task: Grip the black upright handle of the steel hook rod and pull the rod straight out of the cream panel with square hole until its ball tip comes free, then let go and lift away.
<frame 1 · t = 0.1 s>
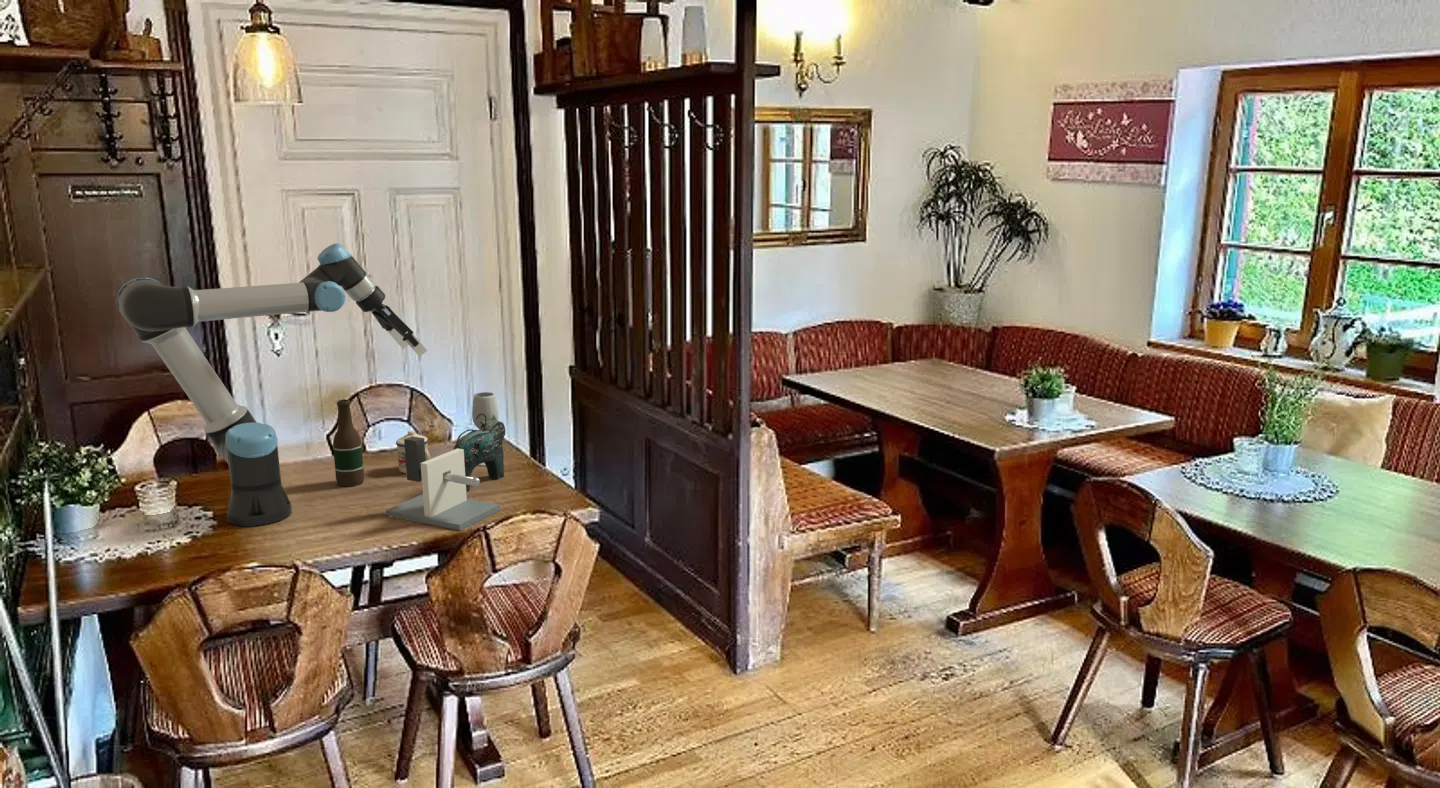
hand: (414, 349, 289), 36 cm above the table, tool tilted 35°, fingers open, 13 cm apart
beer bottle: (350, 483, 285), on the table
panel with square hole: (446, 513, 261), on the table
hook rod: (443, 463, 258), point 13 cm above the table, slide at 0.0 cm
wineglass: (488, 463, 304), on the table
green animal figurine: (481, 484, 284), on the table
teacup with lid: (417, 470, 297), on the table
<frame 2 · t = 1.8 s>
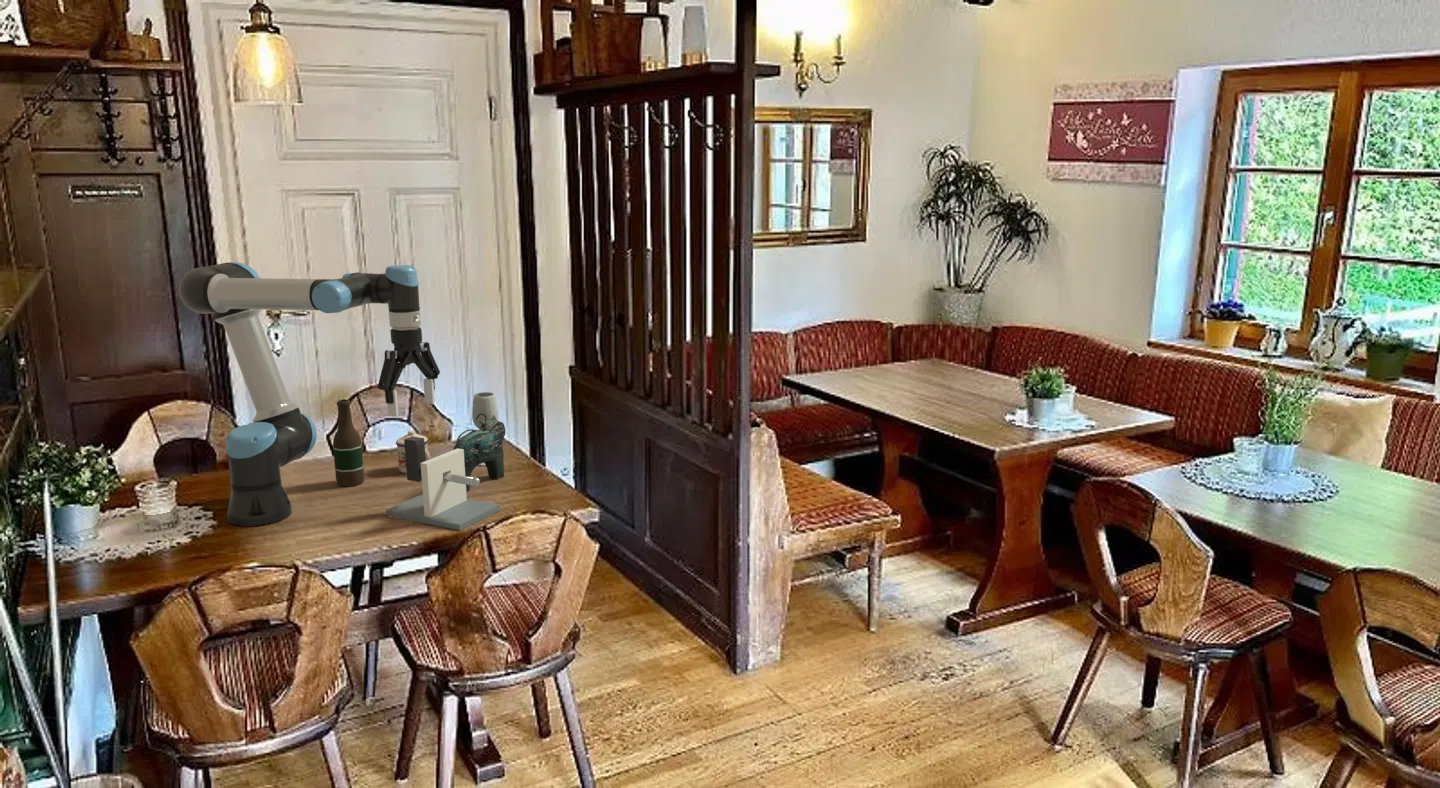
hand: (412, 409, 259), 27 cm above the table, tool pointing down, fingers open, 13 cm apart
nothing on the table moved.
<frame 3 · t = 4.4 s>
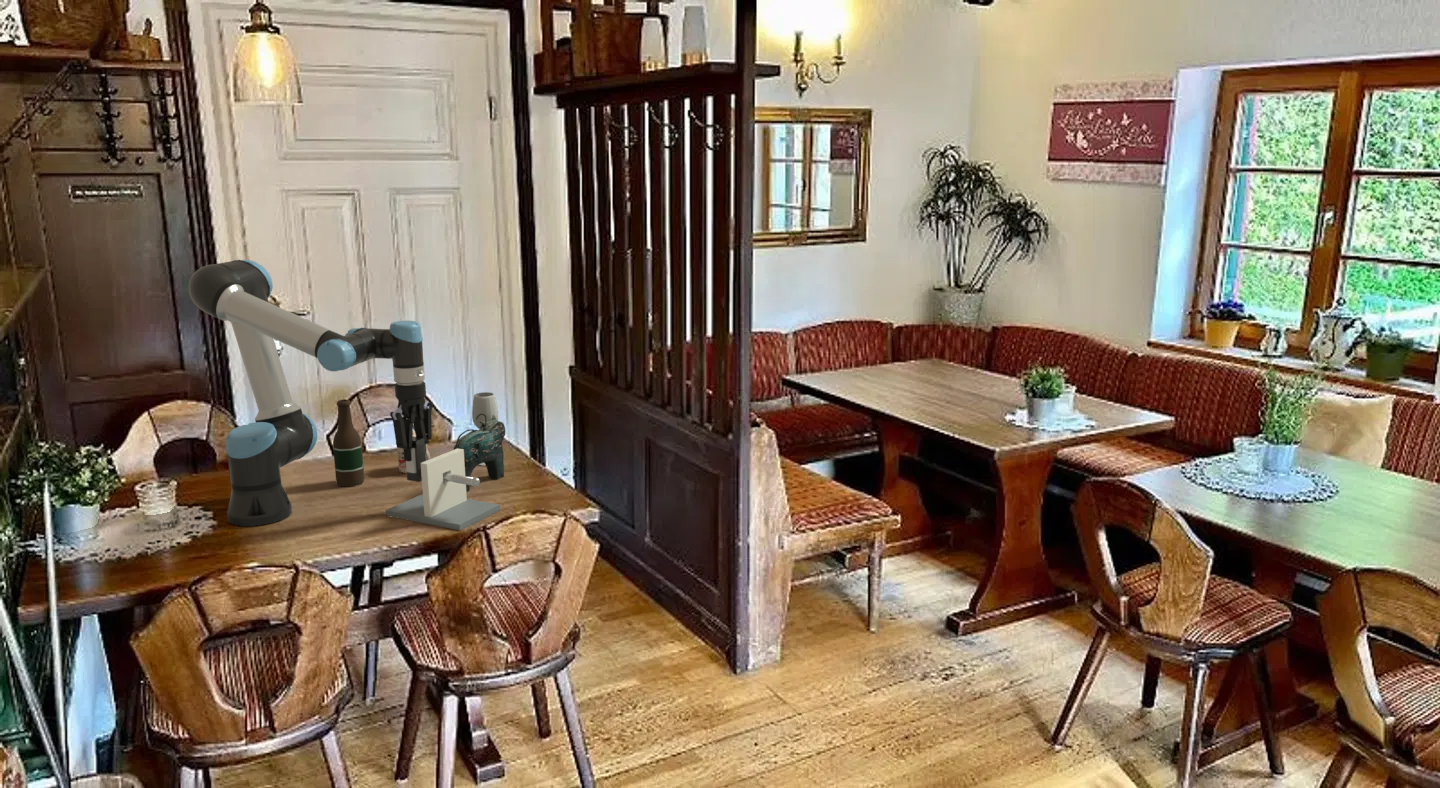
hand: (416, 470, 262), 11 cm above the table, tool pointing down, fingers closed on hook rod, 3 cm apart
hook rod: (443, 463, 258), point 13 cm above the table, slide at 0.0 cm, touching gripper
everything else where it was.
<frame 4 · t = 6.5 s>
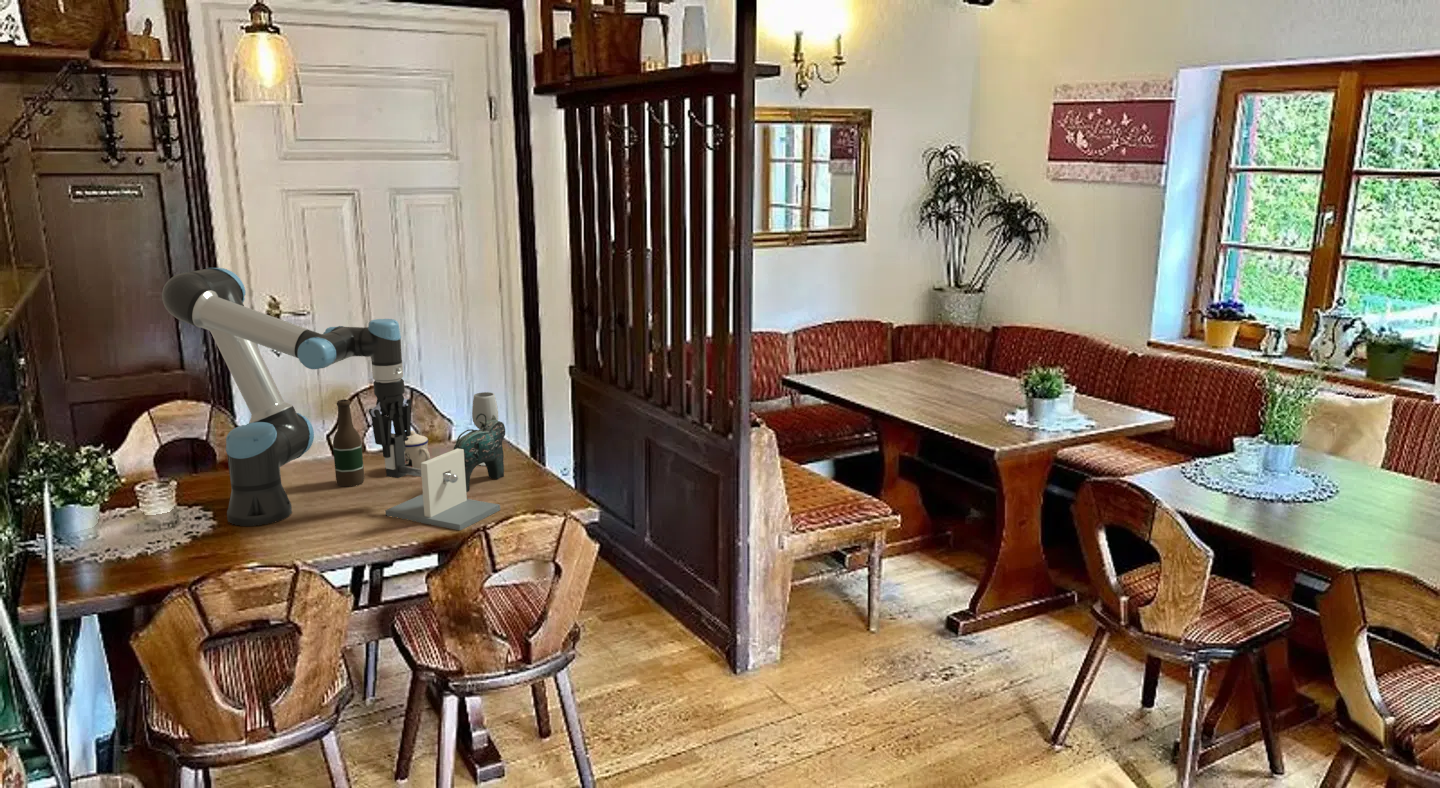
hand: (395, 466, 265), 11 cm above the table, tool pointing down, fingers closed on hook rod, 3 cm apart
hook rod: (421, 460, 261), point 13 cm above the table, slide at 7.1 cm, touching gripper
everything else where it was.
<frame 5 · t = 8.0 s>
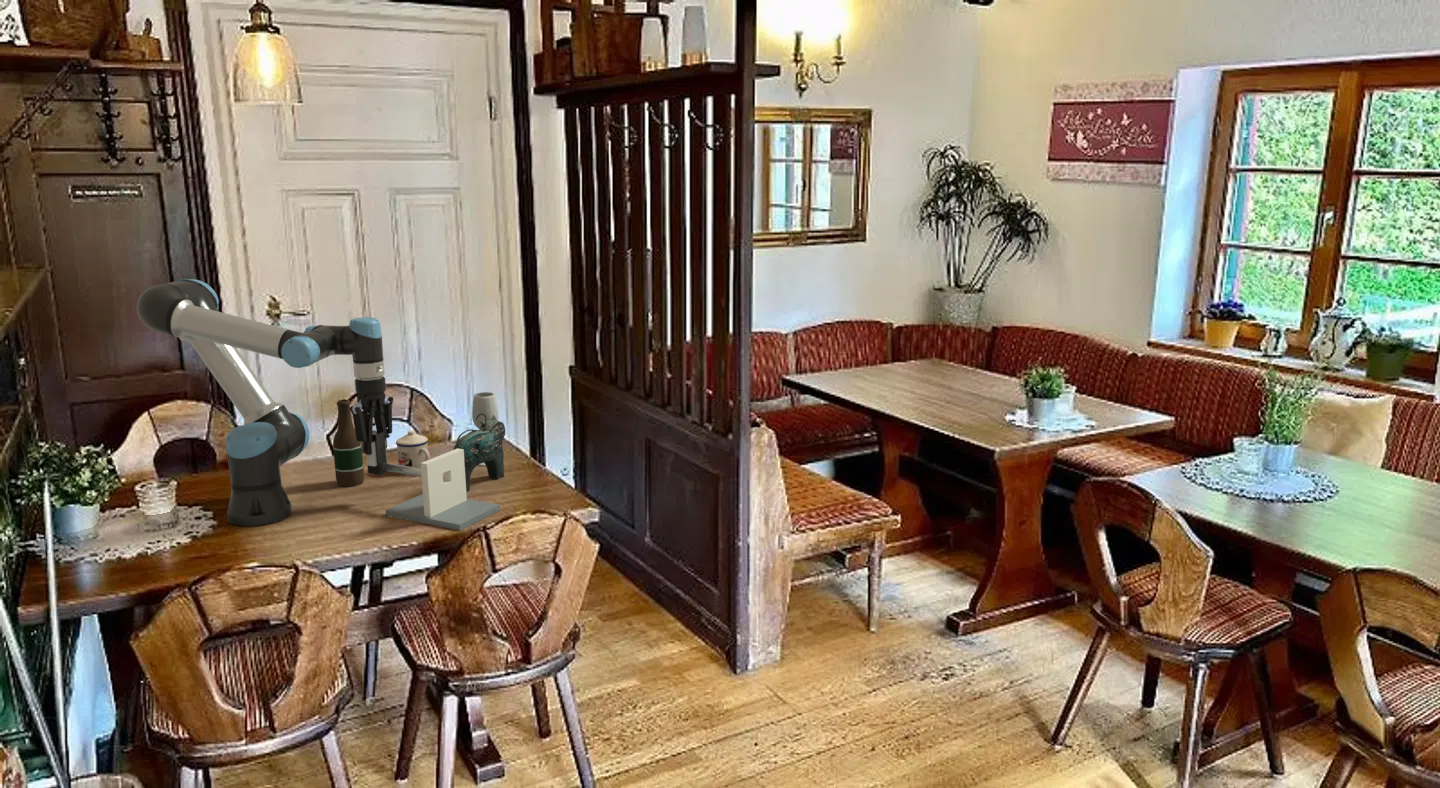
hand: (377, 463, 268), 11 cm above the table, tool pointing down, fingers closed on hook rod, 3 cm apart
hook rod: (402, 457, 264), point 13 cm above the table, slide at 13.4 cm, touching gripper
everything else where it was.
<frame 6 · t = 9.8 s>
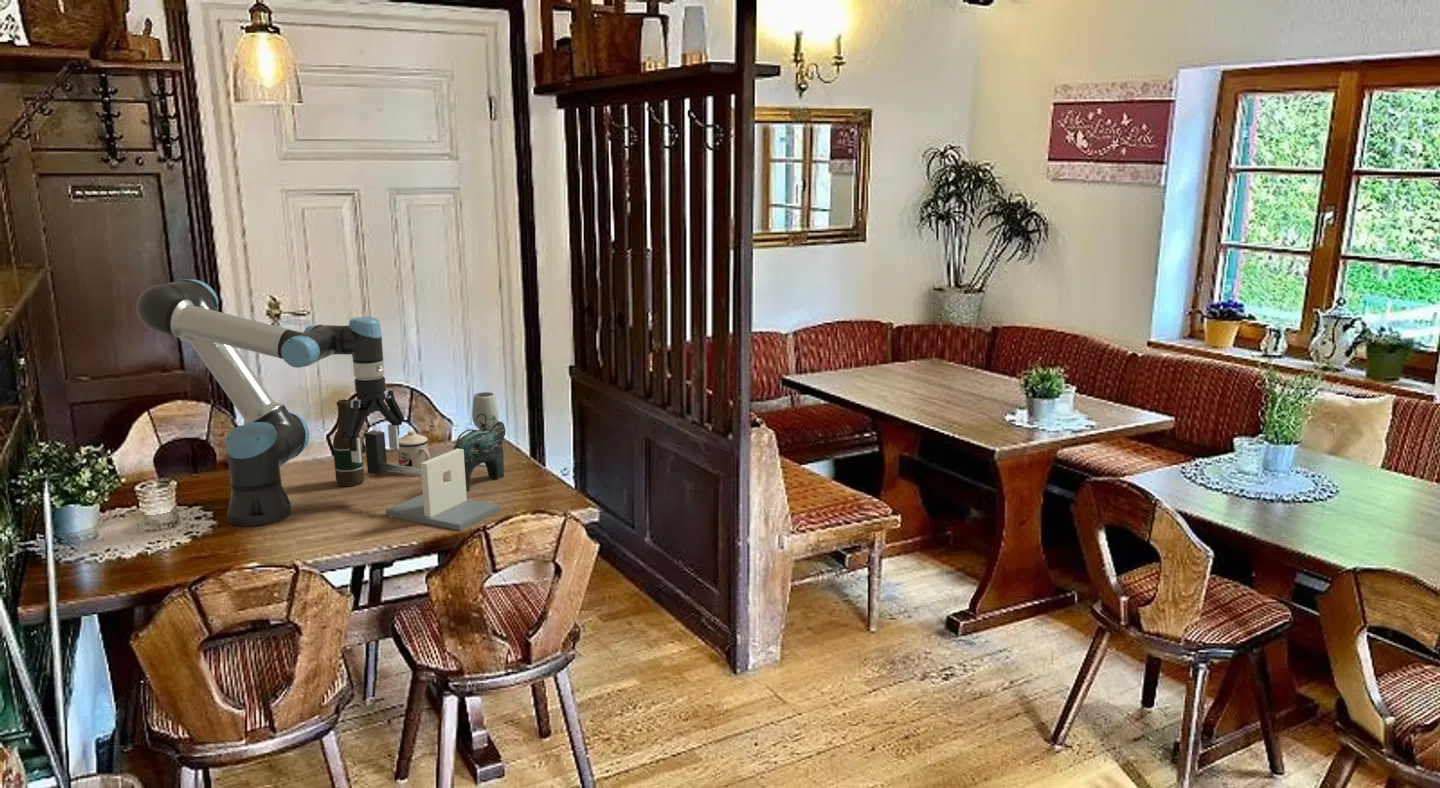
hand: (376, 455, 268), 13 cm above the table, tool pointing down, fingers open, 13 cm apart
hook rod: (402, 457, 264), point 13 cm above the table, slide at 13.5 cm
everything else where it was.
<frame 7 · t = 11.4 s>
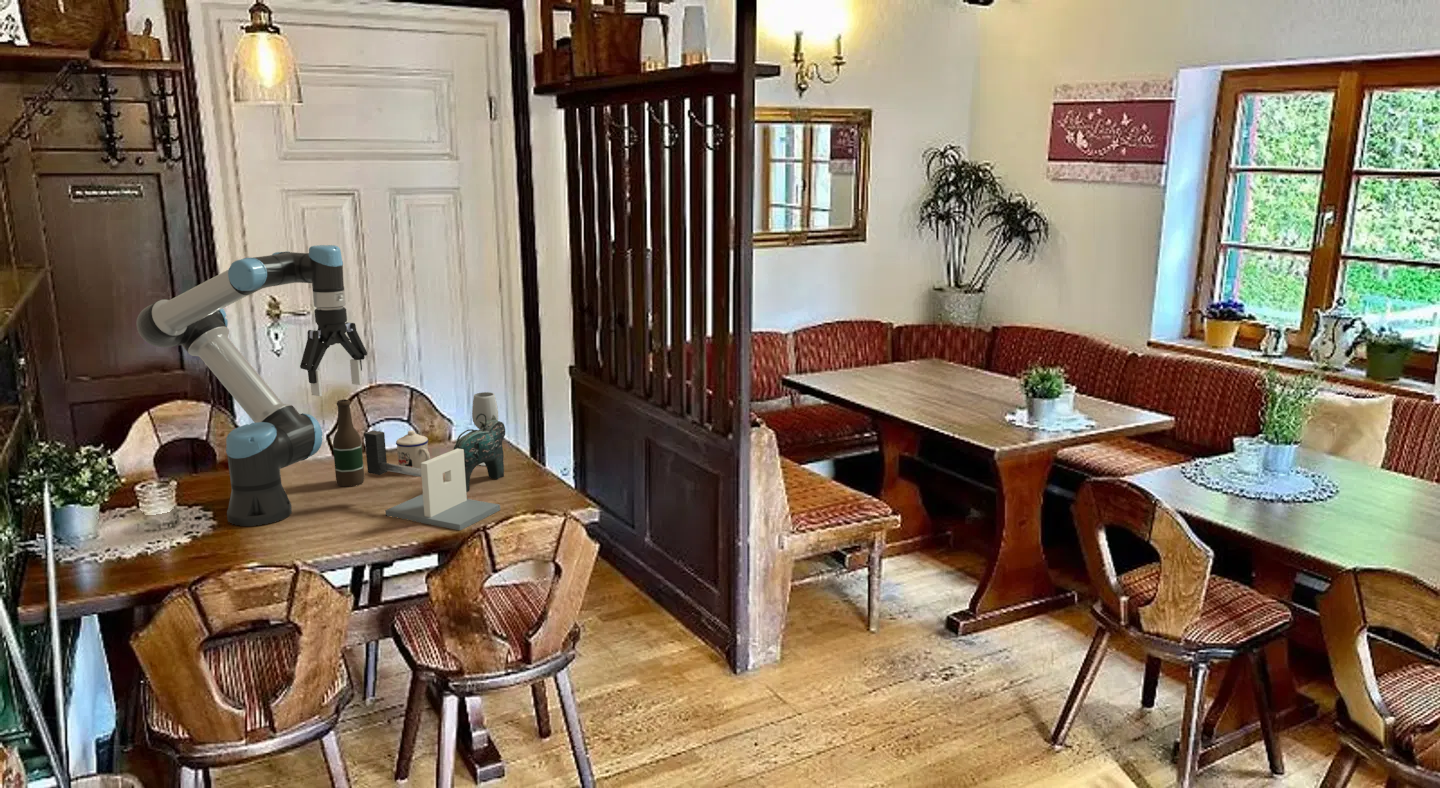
hand: (337, 389, 259), 32 cm above the table, tool pointing down, fingers open, 13 cm apart
nothing on the table moved.
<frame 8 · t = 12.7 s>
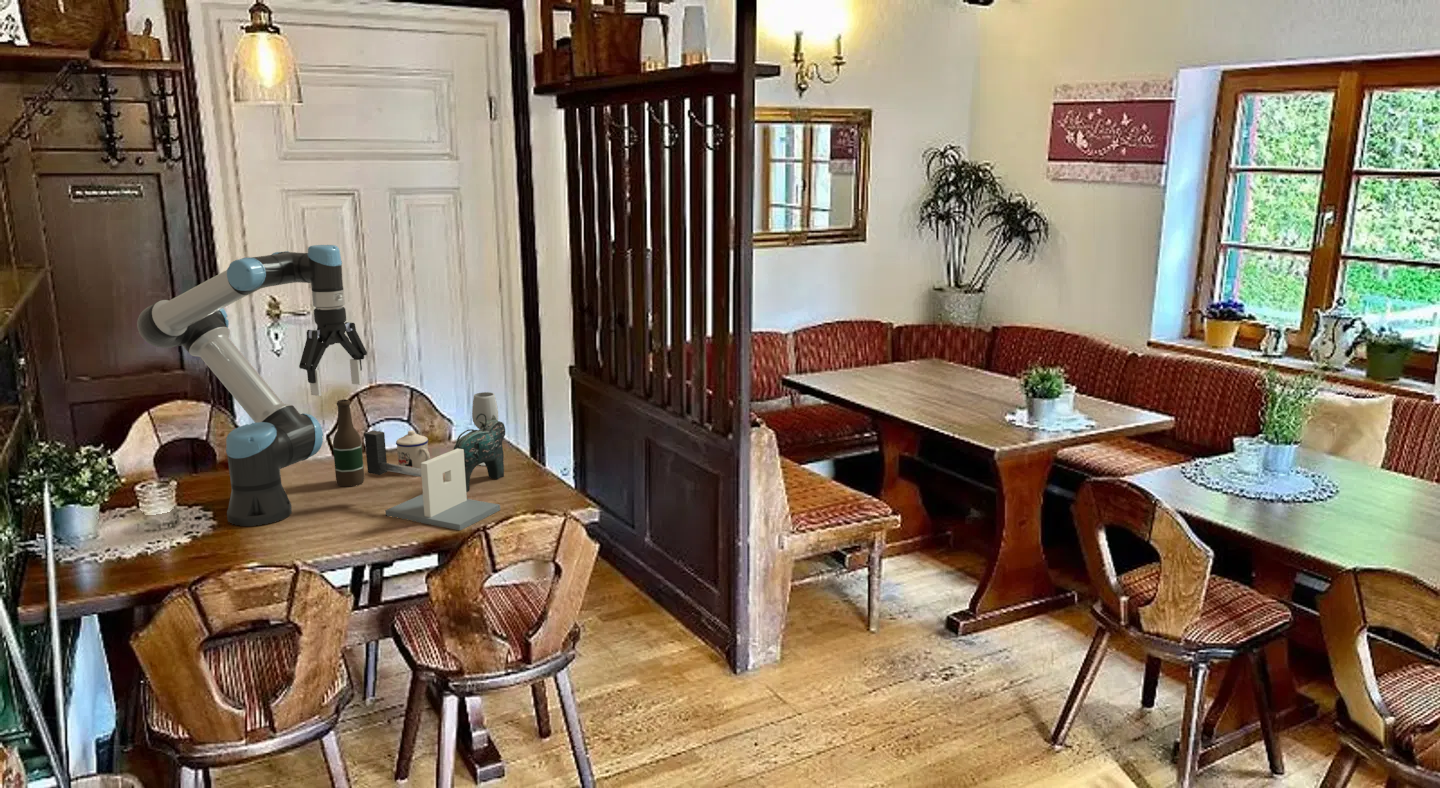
hand: (337, 389, 259), 32 cm above the table, tool pointing down, fingers open, 13 cm apart
nothing on the table moved.
at the end: hook rod slide at 13.5 cm; the gripper is holding nothing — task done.
